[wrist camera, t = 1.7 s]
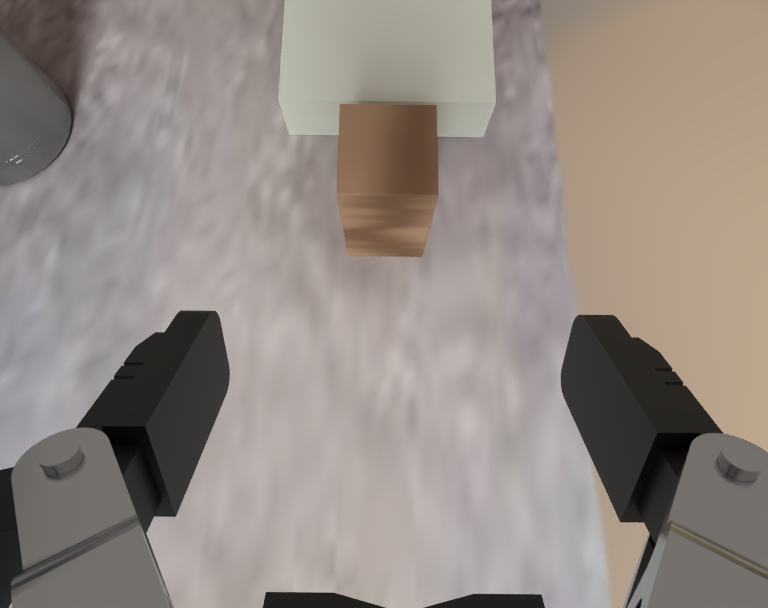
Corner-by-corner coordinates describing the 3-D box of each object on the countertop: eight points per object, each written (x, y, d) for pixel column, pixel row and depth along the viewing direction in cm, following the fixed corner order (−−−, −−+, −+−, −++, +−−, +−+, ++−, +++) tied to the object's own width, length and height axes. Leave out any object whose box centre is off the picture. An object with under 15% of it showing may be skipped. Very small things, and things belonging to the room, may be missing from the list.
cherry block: (348, 255, 33) (336, 193, 24) (350, 188, 35) (339, 103, 25) (422, 256, 34) (438, 194, 24) (421, 189, 35) (436, 105, 25)
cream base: (289, 134, 35) (278, 99, 32) (298, -25, 39) (289, -75, 35) (483, 137, 36) (496, 102, 32) (476, -22, 39) (487, -72, 35)
